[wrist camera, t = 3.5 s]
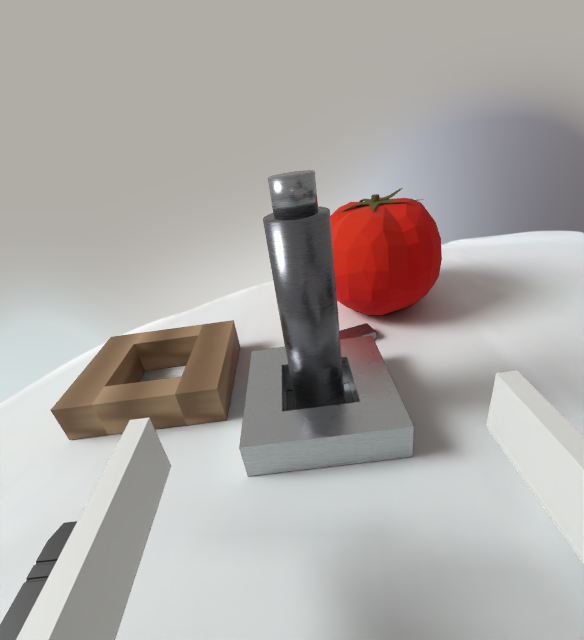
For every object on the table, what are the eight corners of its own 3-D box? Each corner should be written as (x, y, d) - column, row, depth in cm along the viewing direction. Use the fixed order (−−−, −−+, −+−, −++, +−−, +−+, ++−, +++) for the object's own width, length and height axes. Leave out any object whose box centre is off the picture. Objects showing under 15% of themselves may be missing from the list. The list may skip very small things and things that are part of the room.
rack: (240, 346, 34) (233, 320, 33) (226, 420, 25) (216, 388, 24) (122, 362, 35) (111, 336, 33) (69, 439, 26) (50, 410, 24)
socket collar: (372, 360, 29) (372, 335, 28) (412, 456, 21) (413, 426, 19) (257, 375, 30) (251, 351, 29) (247, 476, 21) (239, 447, 20)
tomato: (438, 281, 41) (446, 178, 36) (436, 342, 30) (447, 208, 25) (339, 279, 46) (332, 188, 40) (306, 331, 35) (291, 217, 30)
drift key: (367, 330, 34) (366, 323, 33) (376, 338, 32) (376, 331, 32) (289, 352, 32) (288, 345, 32) (295, 362, 31) (294, 355, 30)
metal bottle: (341, 389, 27) (322, 166, 19) (349, 423, 24) (330, 172, 16) (295, 395, 27) (258, 175, 19) (297, 430, 24) (254, 184, 16)
